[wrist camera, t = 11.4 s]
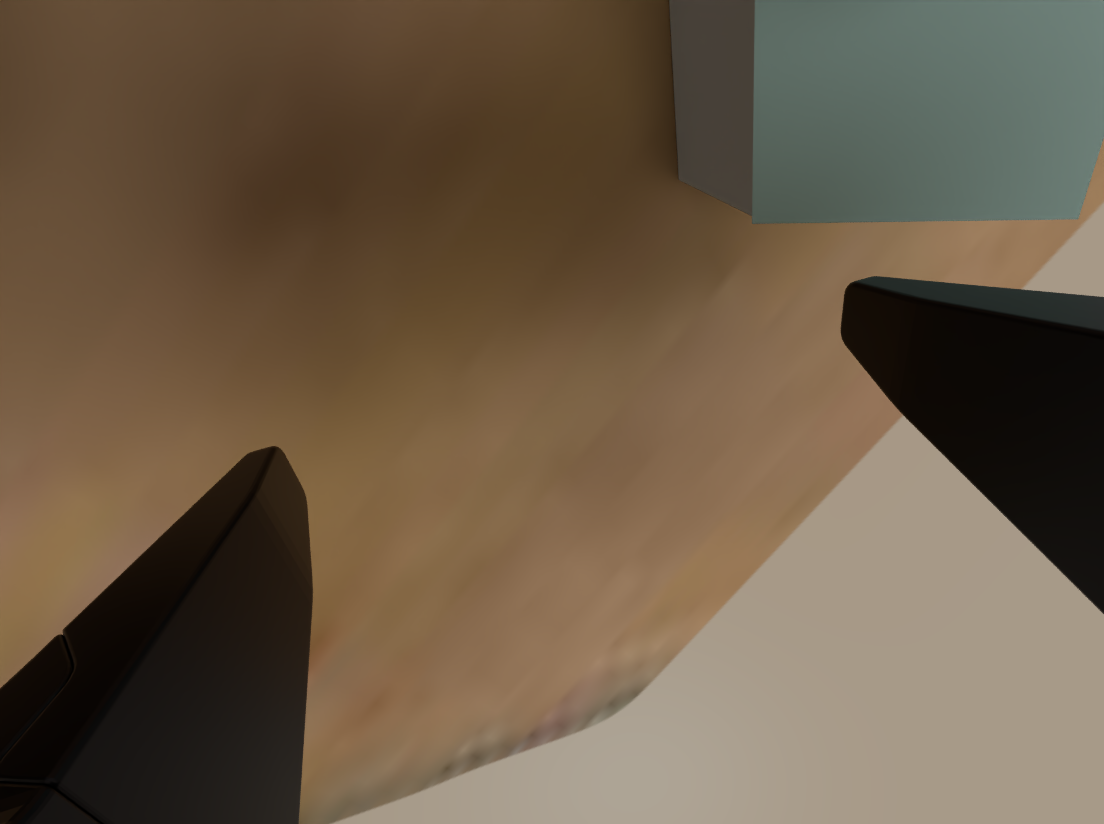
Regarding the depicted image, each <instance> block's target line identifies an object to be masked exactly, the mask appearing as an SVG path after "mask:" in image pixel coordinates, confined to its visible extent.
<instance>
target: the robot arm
mask: <svg viewBox="0 0 1104 824" xmlns="http://www.w3.org/2000/svg"><path fill="white" fill-rule="evenodd" d="M841 336H842V340H843V342H844V344H845V345H846V347H847V348H848V349H849V350H850V352H851V353H852V354H853V355H854V357H855V358H856V359H857V360H858V361H859V363H860V364H861V365H862V366H863V368H864V369H865V370H866V371H867V373H868V374H869V375H870V376H871V378H872V379H873V380H874V381H875V382H876V384H877V385H878V386H879V387H880V389H881V390H882V391H883V392H884V394H885V395H886V396H887V397H888V399H889V400H890V401H891V402H892V403H893V404H894V406H895V407H896V408H897V409H898V410H899V411H900V412H901V413H902V414H903V415H904V416H905V417H906V418H907V419H908V420H909V421H910V422H911V423H912V424H913V425H914V426H915V427H916V428H917V429H918V430H919V431H920V432H921V433H922V434H923V435H924V436H925V437H926V438H927V439H928V440H929V441H930V442H931V443H932V444H933V445H934V446H935V447H936V448H937V449H938V450H939V451H940V452H941V453H942V454H943V455H944V456H945V457H946V458H947V459H948V460H949V461H950V462H951V463H952V464H953V465H954V466H955V467H956V468H957V469H958V470H959V471H960V472H961V473H962V474H963V475H964V476H965V477H966V478H967V479H968V480H969V481H970V482H971V483H972V484H973V485H974V486H975V487H976V488H977V489H978V490H979V491H980V492H981V493H982V494H983V495H984V496H985V497H986V498H987V499H988V500H989V501H990V502H991V503H992V504H993V505H994V506H995V507H996V508H997V509H998V510H999V511H1000V512H1001V513H1002V514H1003V515H1004V516H1005V517H1007V519H1008V520H1009V521H1011V523H1012V524H1013V525H1014V526H1015V527H1016V528H1017V529H1018V530H1019V531H1021V533H1022V534H1023V535H1024V536H1026V537H1027V539H1028V540H1030V541H1031V542H1032V543H1033V544H1034V545H1035V546H1036V547H1037V548H1038V549H1039V550H1040V551H1041V552H1042V553H1043V554H1044V555H1045V556H1046V557H1047V558H1048V559H1049V560H1050V561H1051V562H1052V563H1053V564H1054V565H1055V566H1056V567H1057V568H1058V569H1059V570H1060V571H1061V572H1062V573H1063V574H1064V575H1065V576H1066V577H1067V578H1068V579H1069V580H1070V581H1071V582H1072V583H1073V584H1074V585H1075V586H1076V587H1077V588H1078V589H1079V590H1080V591H1081V592H1082V593H1083V594H1084V595H1085V596H1086V597H1087V598H1088V599H1089V600H1090V601H1091V602H1092V603H1093V604H1094V605H1095V606H1096V607H1097V608H1098V609H1099V610H1100V611H1101V612H1102V613H1103V614H1104V297H1097V296H1085V295H1075V294H1064V293H1053V292H1042V291H1031V290H1021V289H1010V288H999V287H988V286H977V285H966V284H955V283H944V282H933V281H922V280H912V279H901V278H890V277H879V276H873V277H868V278H865V279H861V280H858V281H854V282H852V283H850V284H849V285H848V286H847V288H846V290H845V294H844V302H843V312H842V321H841ZM312 602H313V583H312V566H311V552H310V538H309V523H308V509H307V500H306V496H305V492H304V490H303V488H302V486H301V484H300V482H299V480H298V478H297V476H296V474H295V472H294V471H293V469H292V467H291V465H290V463H289V461H288V459H287V458H286V456H285V454H284V452H283V451H282V450H281V449H280V448H279V447H277V446H271V447H267V448H264V449H260V450H257V451H253V452H250V453H248V454H247V455H246V456H244V457H243V458H242V459H241V460H240V461H239V462H238V463H237V464H236V465H235V466H234V467H233V468H232V469H231V470H230V471H229V472H228V473H227V474H226V475H225V476H223V477H222V478H221V479H220V480H219V481H218V482H217V483H216V484H215V485H214V486H213V487H212V488H211V489H210V490H209V491H208V492H207V493H206V494H205V495H204V496H203V497H201V498H200V499H199V500H198V501H197V502H196V503H195V504H194V505H193V506H192V507H191V508H190V509H189V510H188V511H187V512H186V513H185V514H184V515H183V516H182V517H181V518H179V519H178V520H177V521H176V522H175V523H174V524H173V525H172V526H171V527H170V528H169V529H168V530H167V531H166V532H165V533H164V534H163V535H162V536H161V537H160V538H158V539H157V540H156V541H155V542H154V543H153V544H152V545H151V546H150V547H149V548H148V549H147V550H146V551H145V552H144V553H143V554H142V555H141V556H140V557H139V558H138V559H136V560H135V561H134V562H133V563H132V564H131V565H130V566H129V567H128V568H127V569H126V570H125V571H124V572H123V573H122V574H121V575H120V576H119V577H118V578H117V579H116V580H114V581H113V582H112V583H111V584H110V585H109V586H108V587H107V588H106V589H105V590H104V591H103V592H102V593H101V594H100V595H99V596H98V597H97V598H96V599H95V600H93V601H92V602H91V603H90V604H89V605H88V606H87V607H86V608H85V609H84V610H83V611H82V612H81V613H80V614H79V615H78V616H77V617H76V618H75V619H74V620H73V621H71V622H70V623H69V624H68V625H67V626H66V627H65V628H64V629H63V635H61V634H60V635H57V636H55V637H54V638H53V639H52V640H51V641H50V642H49V643H48V644H47V645H46V646H45V647H44V648H43V649H42V650H41V651H40V652H39V653H38V654H37V655H36V656H35V657H34V658H33V659H31V660H30V661H29V662H28V663H27V664H26V665H25V666H24V667H23V668H22V669H21V670H20V671H19V672H17V673H16V674H15V675H14V676H13V677H12V678H11V679H10V680H9V681H8V682H7V683H6V684H5V685H3V686H2V687H1V688H0V824H299V809H300V793H301V778H302V762H303V746H304V730H305V714H306V699H307V683H308V667H309V651H310V636H311V620H312Z"/></svg>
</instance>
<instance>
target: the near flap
mask: <svg viewBox="0 0 1104 824" xmlns="http://www.w3.org/2000/svg"><path fill="white" fill-rule="evenodd" d="M1103 138H1104V0H755V28H754V111H753V193H752V224H765V223H837V222H910V221H983V220H1055V219H1078V218H1079V215H1080V211H1081V208H1082V205H1083V202H1084V199H1085V196H1086V192H1087V189H1088V186H1089V183H1090V180H1091V176H1092V173H1093V170H1094V167H1095V164H1096V161H1097V157H1098V154H1099V151H1100V148H1101V145H1102V141H1103Z"/></svg>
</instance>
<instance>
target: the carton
mask: <svg viewBox="0 0 1104 824" xmlns="http://www.w3.org/2000/svg"><path fill="white" fill-rule="evenodd" d="M669 8H670V27H671V45H672V64H673V82H674V101H675V119H676V138H677V156H678V175H679V180H680V181H682V182H684V183H686V184H688V185H690V186H692V187H694V188H696V189H698V190H700V191H702V192H704V193H706V194H708V195H710V196H713V197H715V198H717V199H719V200H721V201H723V202H725V203H727V204H729V205H731V206H733V207H735V208H737V209H739V210H741V211H743V212H745V213H747V214H749V215H751V216H752V193H753V111H754V28H755V0H669Z"/></svg>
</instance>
